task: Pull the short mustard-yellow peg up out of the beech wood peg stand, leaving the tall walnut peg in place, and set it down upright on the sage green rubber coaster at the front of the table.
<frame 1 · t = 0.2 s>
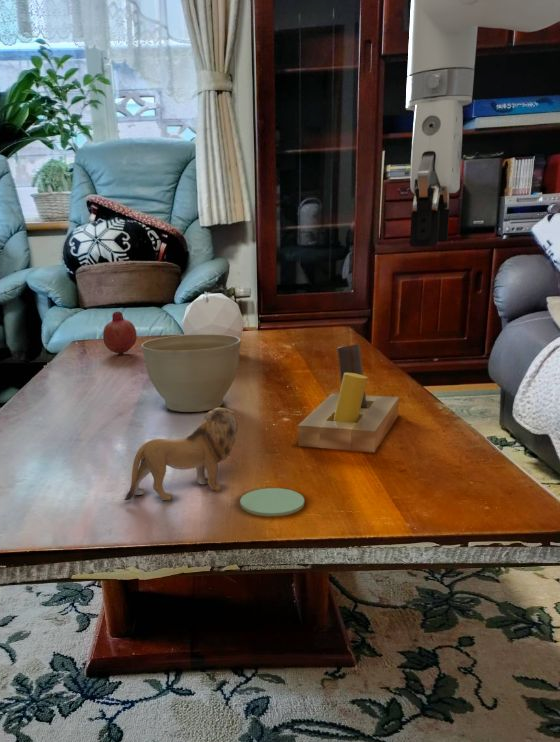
hand: (429, 243, 87), 25 cm above the table, tool pointing down, fingers open, 9 cm apart
fruit: (121, 354, 163), on the table
yellow peg: (341, 435, 94), resting in stand, tilted 12°
coaster: (272, 503, 75), on the table
lion figurine: (186, 490, 80), on the table
planter bowl: (195, 407, 115), on the table
stand: (350, 430, 97), on the table
walnut peg: (357, 421, 100), resting in stand, tilted 13°
geodesic sphere: (214, 355, 156), on the table
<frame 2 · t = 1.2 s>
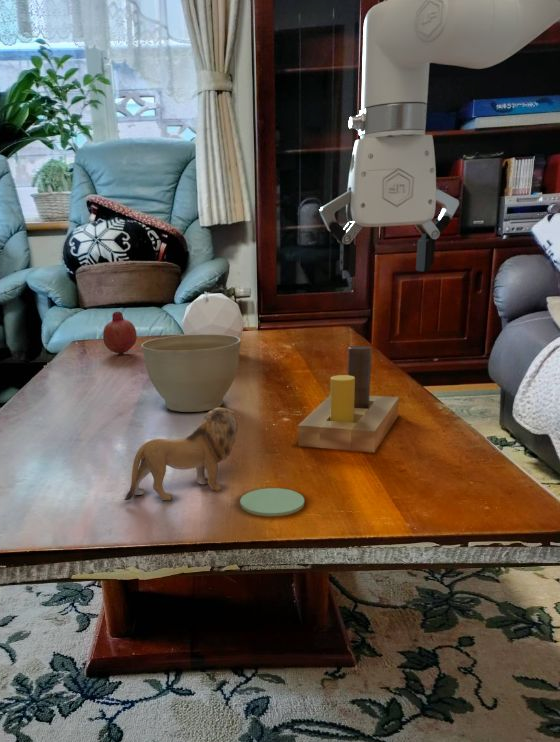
hand: (386, 274, 87), 21 cm above the table, tool pointing down, fingers open, 9 cm apart
yellow peg: (341, 437, 94), resting in stand
walnut peg: (357, 422, 100), resting in stand
everything else where it was.
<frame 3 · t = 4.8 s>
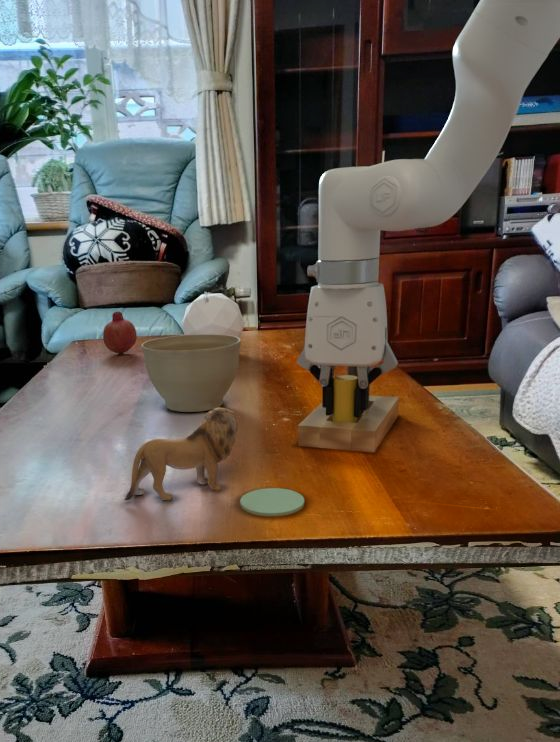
hand: (344, 412, 93), 4 cm above the table, tool pointing down, fingers closed on yellow peg, 3 cm apart
yellow peg: (344, 438, 94), resting in stand, touching gripper
everything else where it was.
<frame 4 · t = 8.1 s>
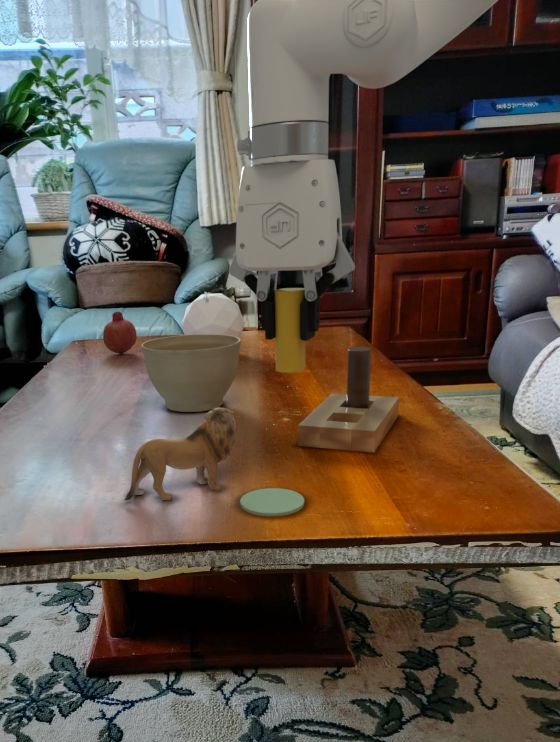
hand: (290, 336, 73), 17 cm above the table, tool pointing down, fingers closed on yellow peg, 3 cm apart
yellow peg: (290, 369, 74), point 14 cm above the table, touching gripper
everything else where it was.
when the fingers open (4 cm above the table, at t = 11.9 s): yellow peg stays where it is, resting on coaster.
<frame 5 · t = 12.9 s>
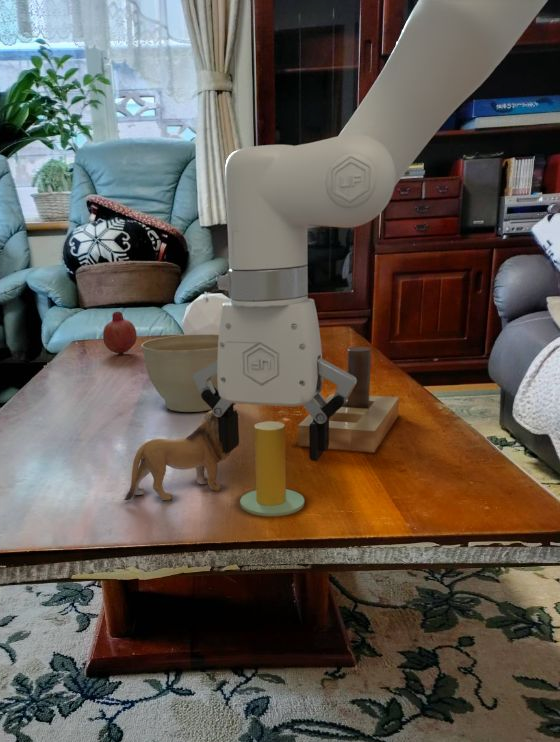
hand: (272, 452, 72), 6 cm above the table, tool pointing down, fingers open, 9 cm apart
yellow peg: (271, 499, 74), resting on coaster
everything else where it was.
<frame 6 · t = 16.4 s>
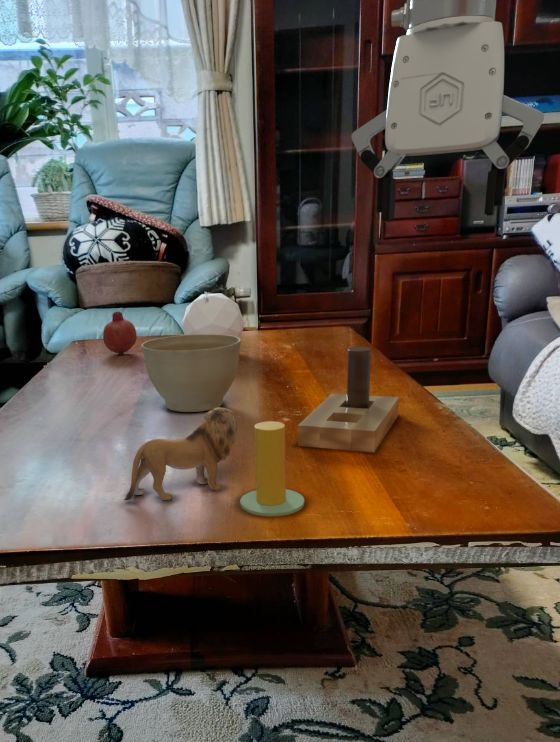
hand: (437, 217, 68), 28 cm above the table, tool pointing down, fingers open, 9 cm apart
nothing on the table moved.
at the end: yellow peg 0.1 cm off-centre on the coaster, point 0.4 cm above the coaster's base; yellow peg tilted 0°; yellow peg touching coaster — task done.
